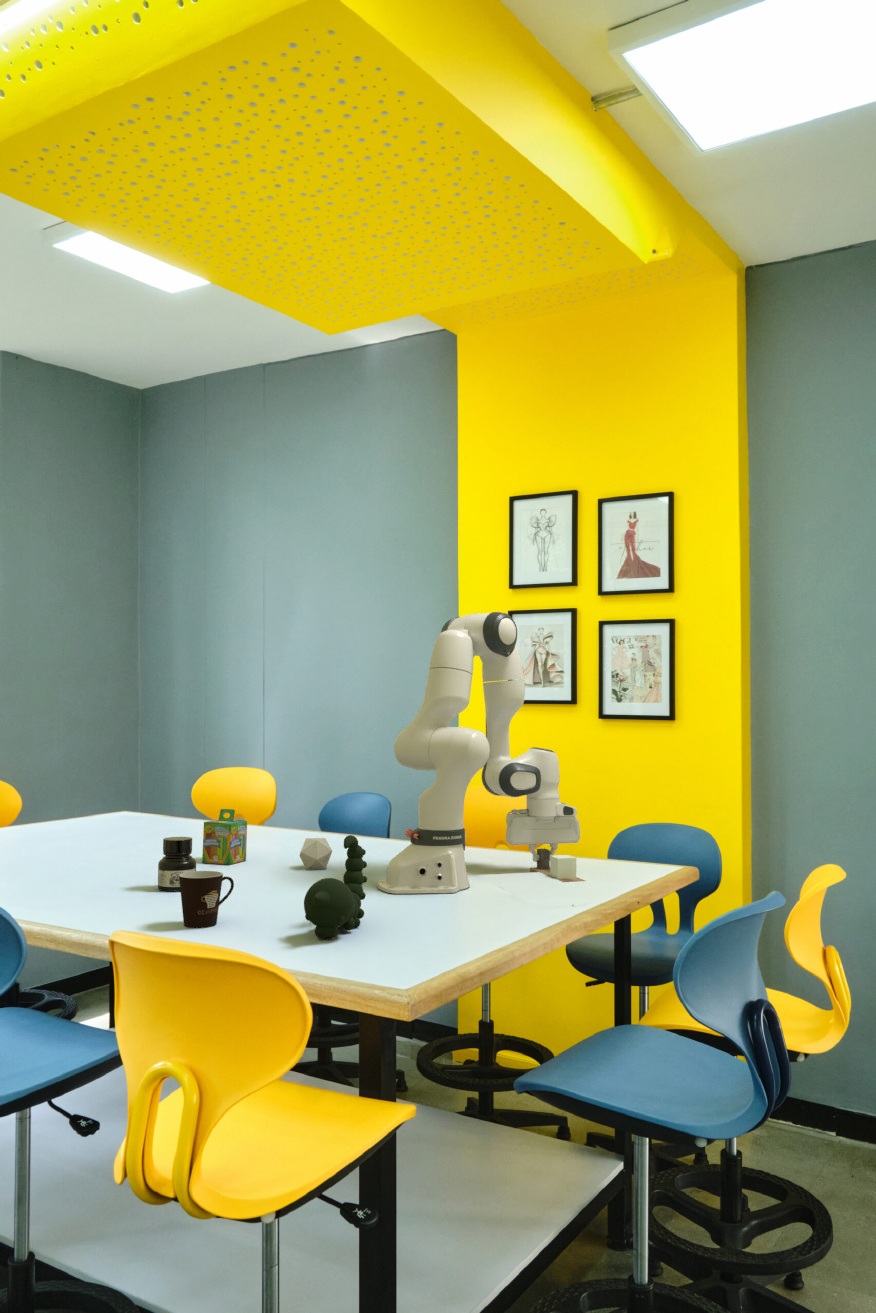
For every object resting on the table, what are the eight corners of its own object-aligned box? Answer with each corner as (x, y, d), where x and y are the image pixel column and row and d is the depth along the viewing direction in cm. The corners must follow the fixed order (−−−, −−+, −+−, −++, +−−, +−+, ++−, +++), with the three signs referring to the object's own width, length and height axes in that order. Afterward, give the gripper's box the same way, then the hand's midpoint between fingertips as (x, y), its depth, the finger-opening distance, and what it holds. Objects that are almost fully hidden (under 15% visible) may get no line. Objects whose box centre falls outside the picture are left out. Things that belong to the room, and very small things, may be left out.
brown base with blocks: (563, 886, 238) (563, 861, 239) (529, 871, 259) (529, 848, 260) (585, 884, 240) (585, 860, 240) (550, 870, 261) (550, 847, 261)
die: (321, 874, 258) (340, 842, 263) (292, 857, 259) (312, 825, 263) (319, 880, 266) (337, 849, 270) (291, 864, 266) (310, 833, 271)
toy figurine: (333, 925, 202) (288, 942, 178) (337, 833, 205) (293, 837, 181) (377, 928, 200) (337, 945, 176) (380, 834, 203) (341, 839, 179)
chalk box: (201, 863, 271) (202, 810, 272) (219, 858, 280) (220, 807, 281) (230, 865, 268) (230, 811, 269) (247, 860, 277) (248, 808, 278)
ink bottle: (154, 892, 228) (155, 841, 229) (157, 886, 237) (158, 836, 238) (197, 891, 230) (197, 840, 231) (198, 884, 239) (199, 835, 240)
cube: (557, 878, 243) (557, 858, 243) (550, 875, 248) (550, 855, 248) (576, 877, 244) (576, 857, 244) (568, 874, 249) (568, 854, 249)
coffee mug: (181, 931, 190) (182, 879, 190) (175, 922, 197) (175, 872, 198) (241, 925, 194) (242, 875, 195) (232, 917, 202) (233, 868, 203)
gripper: (510, 810, 253) (510, 864, 253) (582, 808, 259) (582, 861, 258) (502, 808, 259) (502, 860, 259) (572, 806, 265) (573, 857, 264)
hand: (543, 860), depth 258 cm, fingers closed on brown base with blocks, 2 cm apart
